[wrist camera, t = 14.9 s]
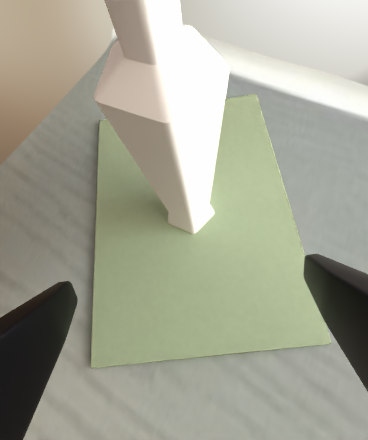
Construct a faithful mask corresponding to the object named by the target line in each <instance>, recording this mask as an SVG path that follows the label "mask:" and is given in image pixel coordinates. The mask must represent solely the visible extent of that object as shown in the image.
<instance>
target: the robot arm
mask: <svg viewBox="0 0 368 440" xmlns="http://www.w3.org/2000/svg"><path fill="white" fill-rule="evenodd" d="M303 275H304V280H305V282H306V284H307V286H308V288H309V290H310V293H311V295H312V297H313V299H314V301H315V303H316V305H317V307H318V309H319V312H320V314H321V316H322V317H323V319H324V321H325V323H326V324H327V326H328V328H329V329H330V331H331V332H332V334H333V336H334V337H335V339H336V341H337V342H338V344H339V345H340V347H341V349H342V350H343V352H344V354H345V355H346V357H347V359H348V360H349V362H350V363H351V365H352V367H353V368H354V370H355V372H356V373H357V375H358V376H359V378H360V380H361V381H362V383H363V385H364V386H365V388H366V389H367V391H368V274H366V273H363V272H361V271H358V270H356V269H353V268H351V267H348V266H346V265H344V264H341V263H339V262H336V261H334V260H331V259H329V258H326V257H324V256H321V255H319V254H311V255H306V256H305V259H304V272H303ZM76 306H77V296H76V293H75V291H74V288H73V286H72V284H71V282H69V281H65V282H58V283H57V284H55V285H53V286H52V287H50V288H48V289H47V290H45V291H43V292H42V293H40V294H39V295H37V296H35V297H34V298H32V299H30V300H29V301H27V302H25V303H24V304H22V305H21V306H19V307H17V308H16V309H14V310H12V311H11V312H9V313H7V314H6V315H4V316H3V317H1V318H0V440H23V438H24V436H25V434H26V431H27V429H28V427H29V424H30V422H31V420H32V417H33V415H34V413H35V410H36V408H37V406H38V403H39V401H40V399H41V396H42V394H43V392H44V389H45V387H46V385H47V382H48V380H49V378H50V375H51V373H52V371H53V368H54V366H55V364H56V361H57V359H58V357H59V354H60V352H61V350H62V347H63V345H64V342H65V340H66V337H67V334H68V331H69V328H70V325H71V321H72V318H73V315H74V312H75V309H76Z"/></svg>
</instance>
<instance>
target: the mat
mask: <svg viewBox="0 0 368 440" xmlns="http://www.w3.org/2000/svg"><path fill="white" fill-rule="evenodd" d="M209 204H210V205H211V207H212V208H213V210H214V215H213V216H212V217H211V218H210V219H209V220H208V221H207V222H206V223H205V224H204V226H203V227H202V228H201V229H200V230H199V231H198V232H197V233H195V234H191V233H189V232H187V231H185V230H182V229H180V228H178V227H175V226H173V225H171V224H169V223H168V210H167V209H166V207H165V206H164V204H163V203H162V201H161V200H160V198H159V197H158V195H157V194H156V192H155V191H154V189H153V188H152V186H151V185H150V183H149V182H148V180H147V179H146V177H145V176H144V174H143V173H142V171H141V169H140V168H139V166H138V165H137V163H136V162H135V160H134V159H133V157H132V156H131V154H130V153H129V151H128V150H127V148H126V147H125V145H124V144H123V142H122V141H121V139H120V138H119V136H118V135H117V133H116V132H115V130H114V129H113V127H112V126H111V124H110V122H109V121H108V119H106V120H100V121H99V146H98V174H97V202H96V230H95V259H94V287H93V315H92V343H91V368H98V367H108V366H118V365H127V364H137V363H147V362H157V361H167V360H176V359H186V358H196V357H206V356H216V355H225V354H235V353H245V352H255V351H265V350H274V349H284V348H294V347H304V346H314V345H323V344H331V340H330V337H329V334H328V330H327V327H326V324H325V321H324V319H323V317H322V316H321V314H320V312H319V309H318V307H317V305H316V303H315V301H314V299H313V297H312V295H311V293H310V290H309V288H308V286H307V284H306V282H305V280H304V275H303V272H304V259H305V254H304V251H303V247H302V244H301V241H300V237H299V234H298V231H297V227H296V224H295V221H294V218H293V214H292V211H291V208H290V204H289V201H288V198H287V194H286V191H285V188H284V184H283V181H282V178H281V174H280V171H279V168H278V164H277V161H276V158H275V155H274V151H273V148H272V145H271V141H270V138H269V135H268V131H267V128H266V125H265V121H264V118H263V115H262V111H261V108H260V105H259V102H258V98H257V95H256V94H252V95H247V96H241V97H235V98H229V99H225V104H224V111H223V118H222V124H221V131H220V137H219V144H218V151H217V157H216V164H215V170H214V177H213V184H212V190H211V197H210V203H209Z"/></svg>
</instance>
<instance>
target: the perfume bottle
mask: <svg viewBox="0 0 368 440" xmlns="http://www.w3.org/2000/svg"><path fill="white" fill-rule="evenodd" d="M105 3H106V6H107V8H108V11H109V14H110V17H111V20H112V23H113V26H114V29H115V32H116V35H117V37H118V41H116V42H115V43H114V44H113V45H112V48H111V50H110V53H109V56H108V58H107V61H106V64H105V67H104V69H103V72H102V75H101V77H100V80H99V83H98V86H97V88H96V91H95V94H94V100H95V101H96V103H97V104H98V106H99V107H100V109H101V110H102V112H103V113H104V115H105V116H106V118H107V119H108V121H109V122H110V124H111V126H112V127H113V129H114V130H115V132H116V133H117V135H118V136H119V138H120V139H121V141H122V142H123V144H124V145H125V147H126V148H127V150H128V151H129V153H130V154H131V156H132V157H133V159H134V160H135V162H136V163H137V165H138V166H139V168H140V169H141V171H142V173H143V174H144V176H145V177H146V179H147V180H148V182H149V183H150V185H151V186H152V188H153V189H154V191H155V192H156V194H157V195H158V197H159V198H160V200H161V201H162V203H163V204H164V206H165V207H166V209H167V210H168V223H169V224H171V225H173V226H175V227H178V228H180V229H182V230H185V231H187V232H189V233H191V234H195V233H197V232H198V231H199V230H200V229H201V228H202V227H203V226H204V224H205V223H206V222H207V221H208V220H209V219H210V218H211V217H212V216H213V215H214V210H213V208H212V207H211V205H210V204H209V203H210V197H211V190H212V184H213V177H214V170H215V164H216V157H217V151H218V144H219V137H220V131H221V124H222V118H223V111H224V104H225V98H226V91H227V85H228V78H229V72H230V67H229V65H228V64H227V63H226V61H225V60H224V59H223V58H222V57H221V56H220V55H219V54H218V53H217V52H216V51H215V50H214V49H213V48H212V47H211V45H210V44H209V43H208V42H207V41H206V40H205V39H204V38H203V37H202V36H201V35H200V34H199V33H198V32H197V31H196V29H194V27H192V26H191V25H182V17H181V8H180V0H105Z"/></svg>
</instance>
